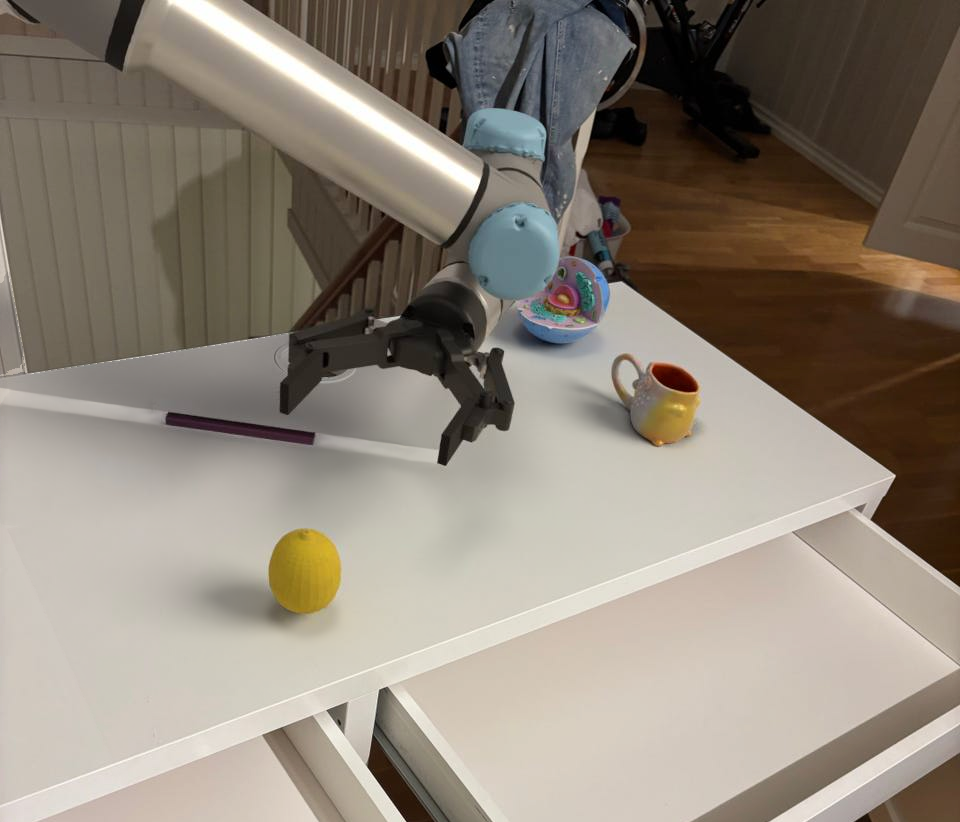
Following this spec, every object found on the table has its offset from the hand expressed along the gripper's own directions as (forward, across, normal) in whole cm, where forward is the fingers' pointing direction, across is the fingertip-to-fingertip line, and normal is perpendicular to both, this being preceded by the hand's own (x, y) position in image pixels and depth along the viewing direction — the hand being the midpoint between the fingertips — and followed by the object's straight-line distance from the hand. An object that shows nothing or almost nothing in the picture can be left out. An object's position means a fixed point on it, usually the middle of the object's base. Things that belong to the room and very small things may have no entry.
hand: (362, 424), depth 77 cm
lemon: (+10, 0, -12) cm, 16 cm away
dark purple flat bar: (-12, +17, -12) cm, 24 cm away
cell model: (-49, -6, -12) cm, 51 cm away
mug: (-37, -20, -12) cm, 43 cm away
